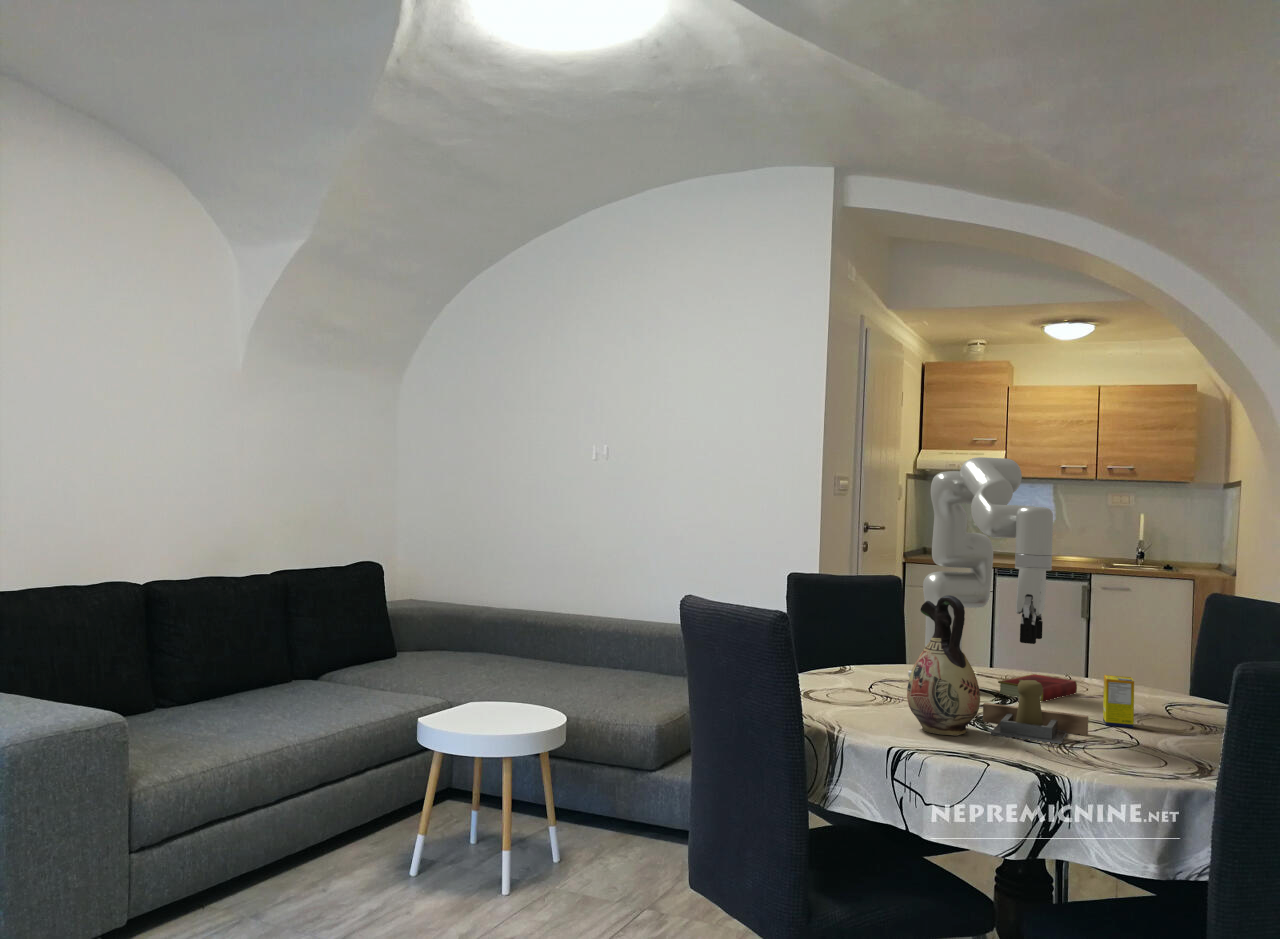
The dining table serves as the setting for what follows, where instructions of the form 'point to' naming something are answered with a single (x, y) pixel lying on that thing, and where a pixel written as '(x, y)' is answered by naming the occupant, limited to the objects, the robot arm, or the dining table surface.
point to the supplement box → (1118, 701)
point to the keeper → (1029, 730)
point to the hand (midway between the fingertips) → (1031, 640)
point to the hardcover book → (1050, 686)
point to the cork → (1029, 702)
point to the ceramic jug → (944, 675)
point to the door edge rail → (1065, 720)
